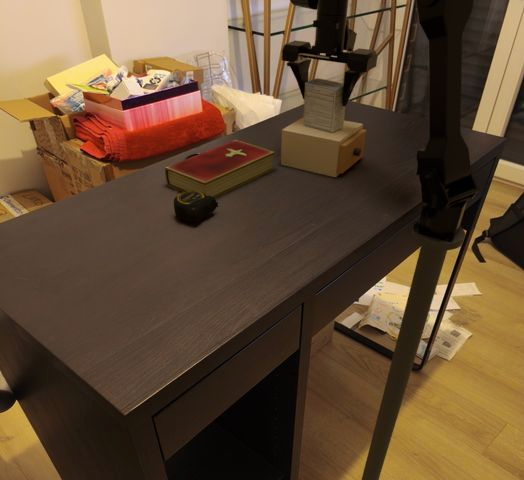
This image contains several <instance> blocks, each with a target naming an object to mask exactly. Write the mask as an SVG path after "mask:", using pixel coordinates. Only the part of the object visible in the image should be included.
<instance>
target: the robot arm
mask: <svg viewBox="0 0 524 480" xmlns="http://www.w3.org/2000/svg"><path fill="white" fill-rule="evenodd" d="M289 1H290V3H291V4H292V5H293V6H295V7H299V8H305V9H308V10H309V9H310V10H314V11H316V19H314V20H312V28H315V32H314V33H315V35H314V44H313V45H311V42H310V41H305V40H304V41H303V40H292V41H290V42H287V43H284V44H283V46H282V48H281V57H280V58H281V61H282V62H286V67H289V68H290V69H291V72H292V74H293V76H294V78H295V80H296V83H297V85H298V89H299V91H300V94H301V97H302V99H303V100H304V99H305V83H306V82H308V81H309V74H310V73H309V71H310V66H311V63H312V60H318V61H323V62H324V61H325V62H331V63H332V62H333V63H339V64H346V66H347V68H348V69H347V70H346V71H344V75H343V76H344V78H343V84H344V87H343V98H342V103H343V107H345V108H346V107H347V104H348V102H349V100H350V98H351V95H352V93H353V91H354V89H355V87H356V84H357V82H358V81H359V79H360V77H361V76H363V75H364V74H366V73H367V72H369V71H371V70H372V69H374V68H377V65H378V64H377V63H378V53H377V51H376V49H367V48H357V49H355V43H356V41H357V40H356V39H357V36H358V34H357V32H356V31H354V30H353V29H351V28H350V18H349V17H348V9H349V8H348V7H349V0H289ZM415 5H416V10H417V11H416V12H417V17H418V22H419V25H420V27H421V29H422V31H423V32H424V34H425V37H426V39H427V42H428V112H429V113H428V114H429V116H428V119H429V120H428V121H429V123H428V124H429V125H428V126H429V136H428V141H427V143H426V145H425V147H424V148H421V149H418V150H417V152H416V161H417V169H416V173H415V174H416V176H418V178H419V183H420V189H421V202H422V203H424V204H423V205H422V209H421V213H420V216H419V220H418V221H419V226H420V228H419V230H418V232H417V233H418V234H421V235H425V236H429V237H432V238H436V239H440V240H444V241H447V242H452V241H453V240H454V238H455V236H456V235H457V233H458V232H459V230H460V228H461V227H462V225H461V222H462V219H463V216H464V213H465V210H466V207H467V203H468V201H469V200H473V199H474V197H476V195H477V193H478V192H479V191H480V190H479V186H478V184H477V181H476V180H475V179H476V178H475V177H474V174H473V172H472V170H471V169H472V168H471V159H470V157H471V156H470V150H469V147H468V145H467V143H466V141H465V140H464V139H465V138H464V137H463V136H462V133H461V120H462V114H461V113H462V71H463V70H462V68H463V67H462V64H463V63H462V62H463V34H464V30H465V29H466V26H467V23H468V21H469V19H470V16H471V15H472V12H473V7H474V0H415Z"/></svg>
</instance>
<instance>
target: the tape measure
mask: <svg viewBox="0 0 524 480" xmlns="http://www.w3.org/2000/svg"><path fill="white" fill-rule="evenodd" d="M218 207H219V202H218V201H217V198H214V197H213V196H206V195H205V194H204V193H202V192H198V191H187V192H181V193H179V194H177V195H176V196H175V197H174V199H173V210H174V214H175V216H176V217H177V218H178V219H180V220H181V221H186V222H192V223H196V222H199V221H200V220H201V219H203V218H204V217H206V216H208V215H209V214H212V213H213V212H214V211H216V209H217V208H218Z"/></svg>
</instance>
